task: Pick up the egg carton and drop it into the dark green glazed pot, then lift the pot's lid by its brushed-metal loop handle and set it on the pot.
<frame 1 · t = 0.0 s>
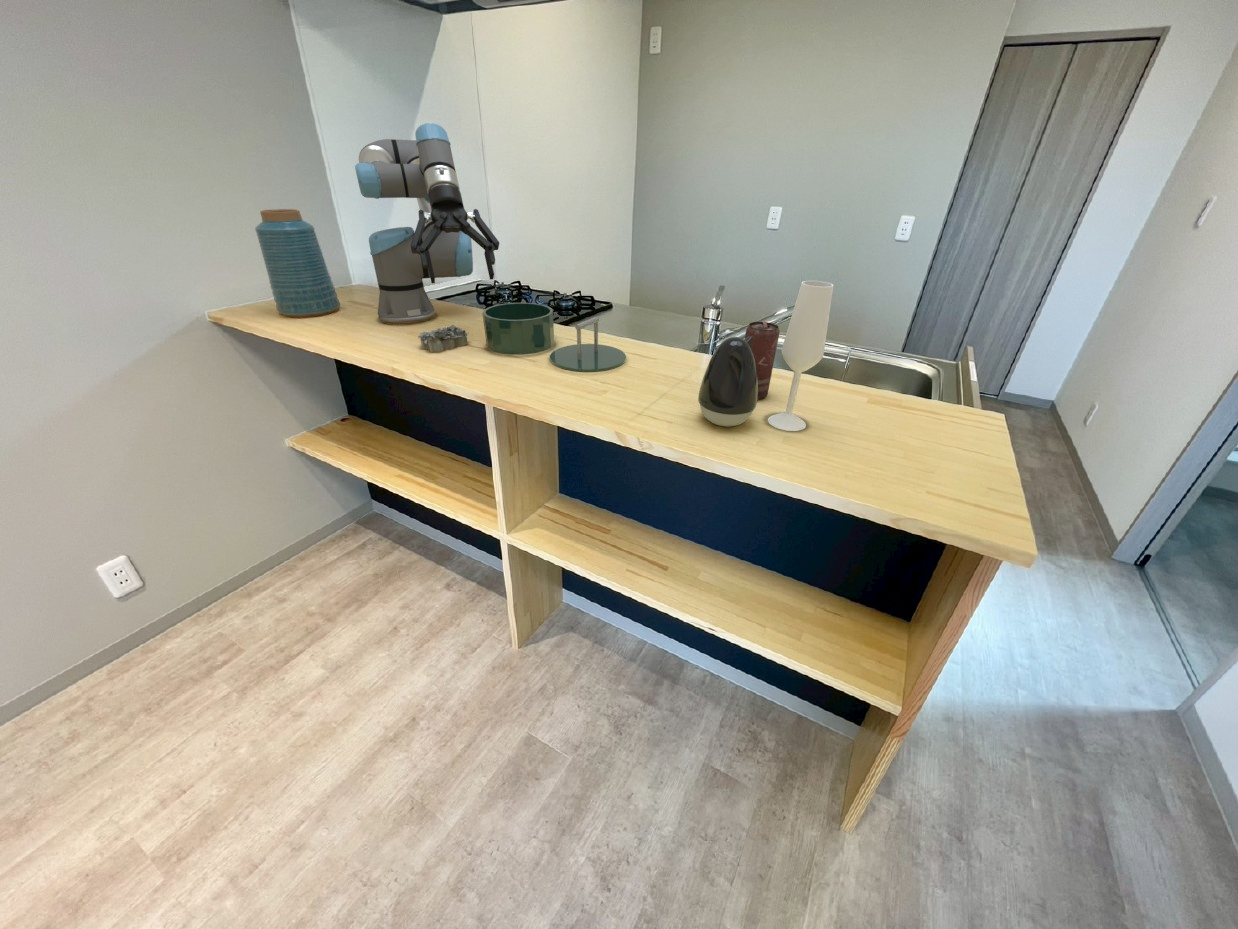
hand: (463, 278, 116), 15 cm above the worktop, tool tilted 35°, fingers open, 13 cm apart
pot: (521, 345, 123), on the worktop
vase: (310, 312, 146), on the worktop
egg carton: (445, 346, 122), on the worktop
champagne flute: (786, 423, 89), on the worktop
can: (751, 394, 99), on the worktop
dark grey egg shape: (724, 420, 89), on the worktop
lid: (588, 358, 114), point 1 cm above the worktop
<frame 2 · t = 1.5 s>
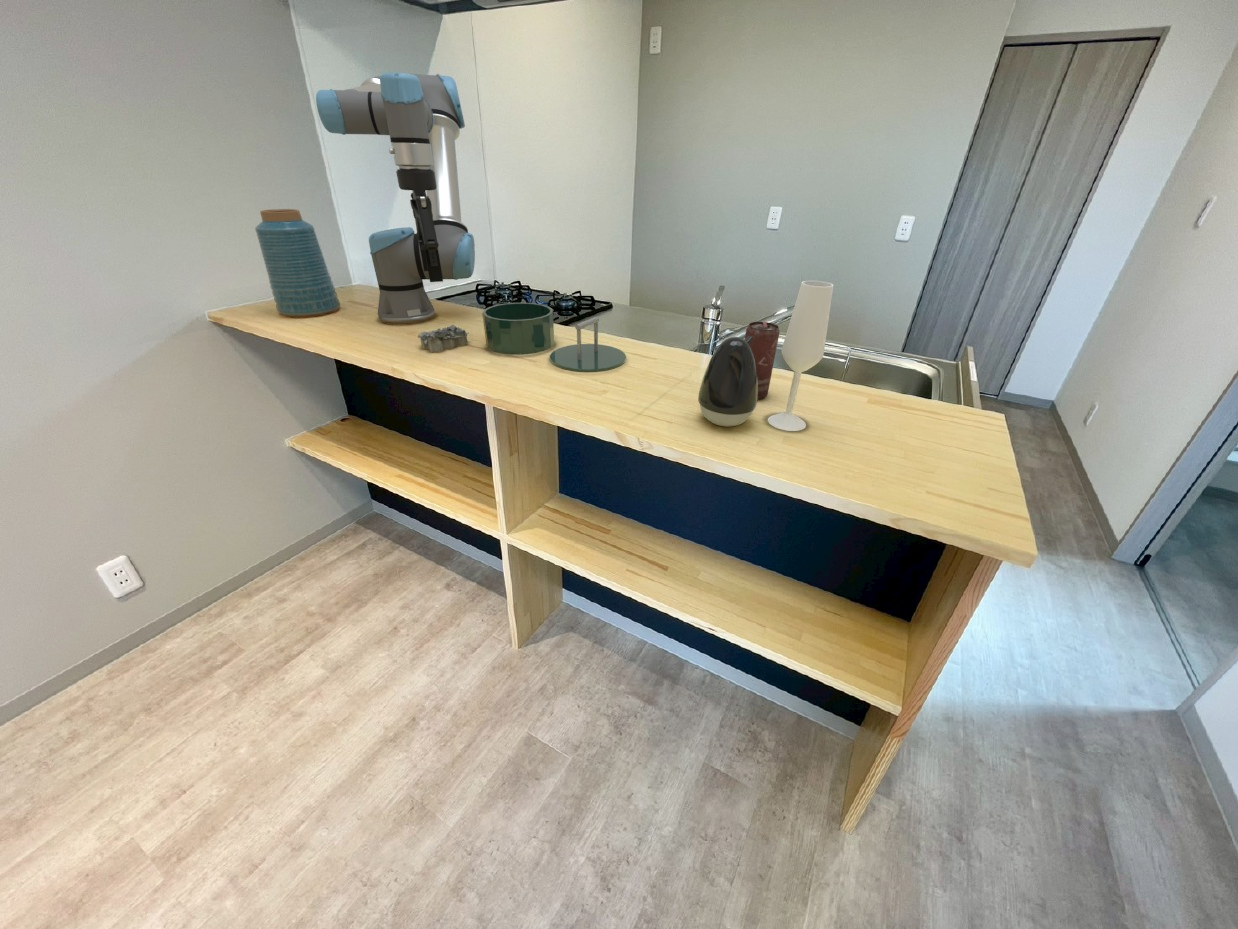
hand: (433, 276, 113), 16 cm above the worktop, tool pointing down, fingers open, 13 cm apart
nothing on the worktop moved.
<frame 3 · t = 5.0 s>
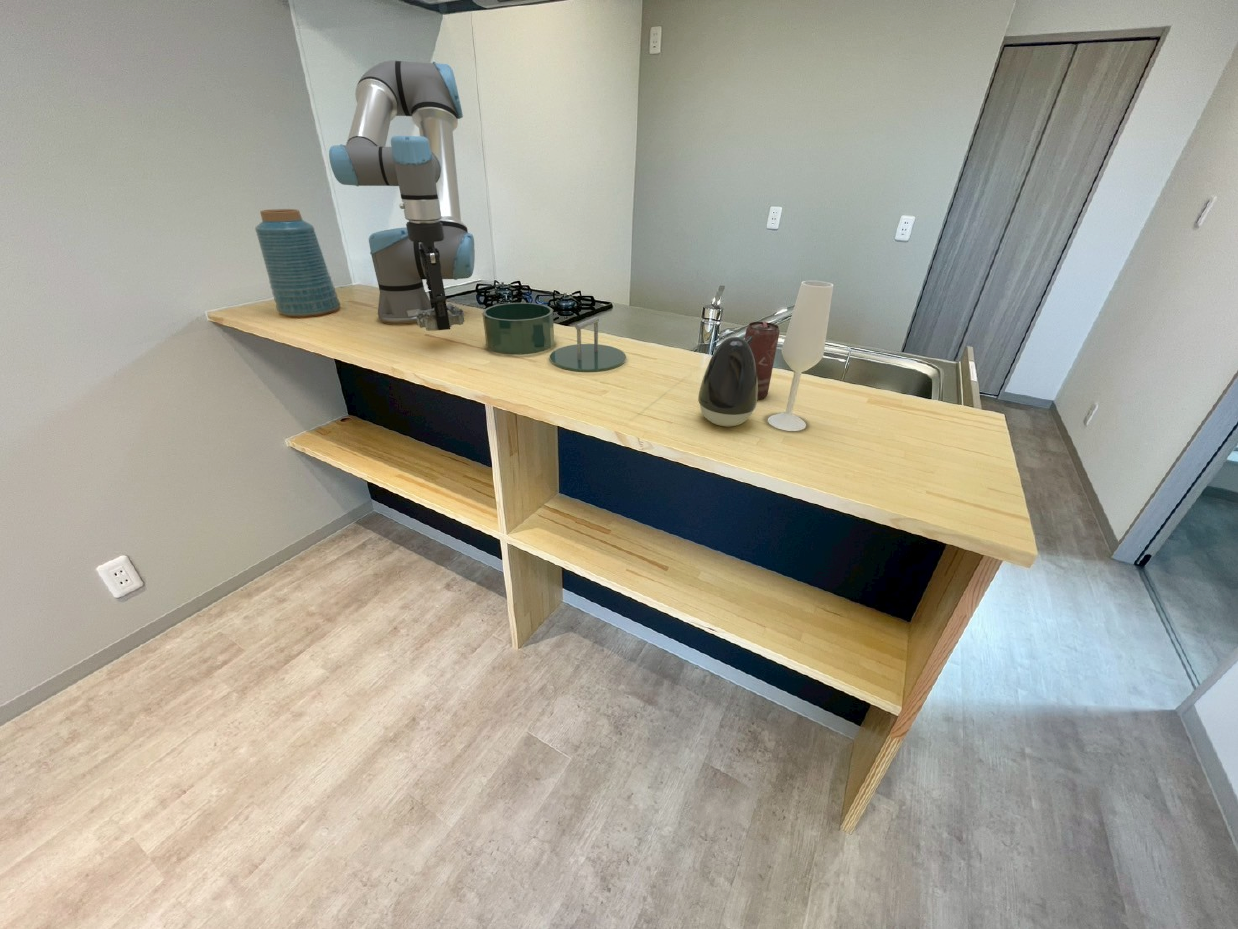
hand: (441, 323, 119), 5 cm above the worktop, tool pointing down, fingers closed on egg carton, 9 cm apart
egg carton: (441, 325, 119), point 5 cm above the worktop, touching gripper
everything else where it was.
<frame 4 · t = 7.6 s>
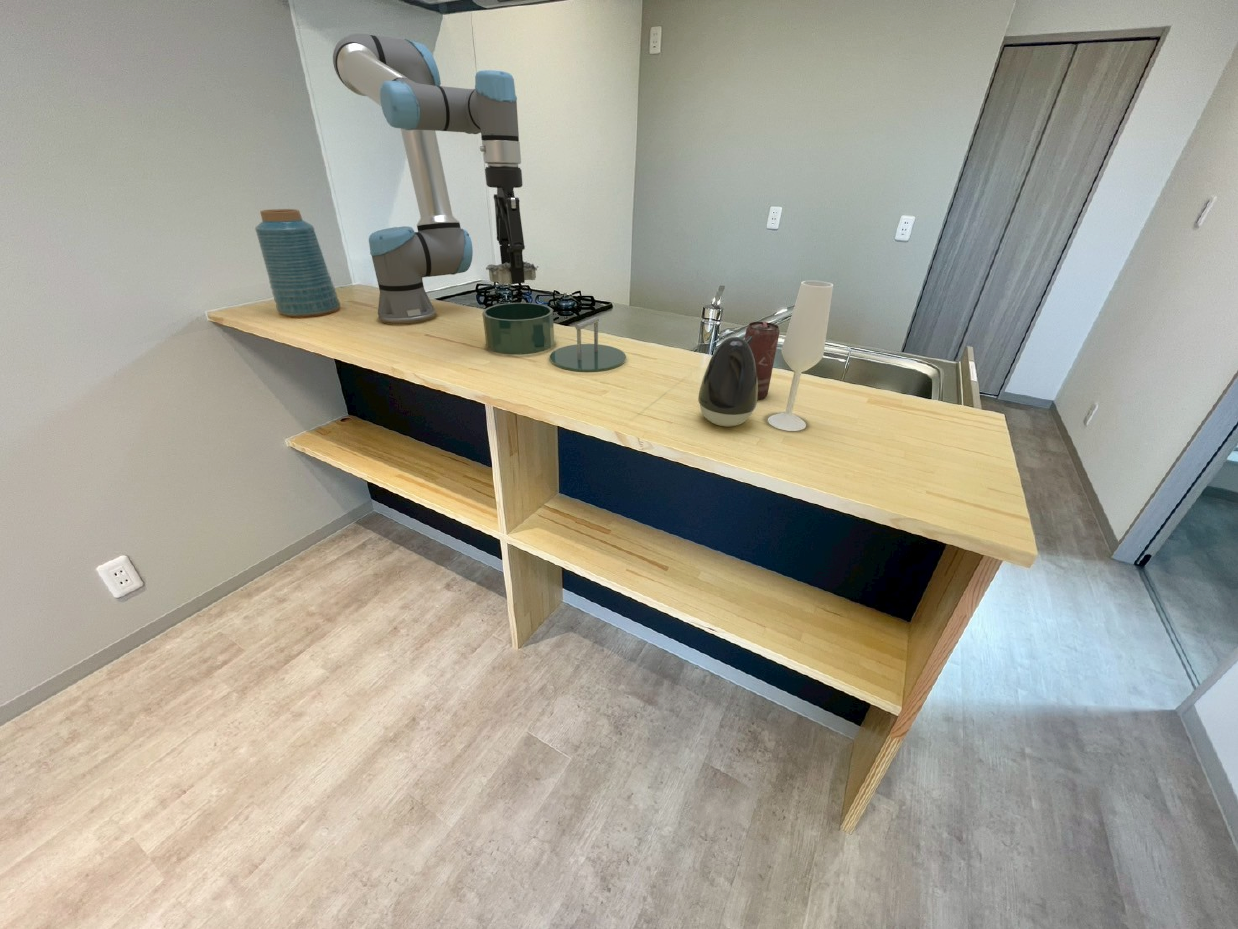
hand: (513, 278, 114), 16 cm above the worktop, tool pointing down, fingers closed on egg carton, 9 cm apart
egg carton: (513, 280, 114), point 16 cm above the worktop, touching gripper
everything else where it was.
when the fingers open (5 cm above the worktop, at t = 10.5 s): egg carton drops 4 cm, resting on pot.
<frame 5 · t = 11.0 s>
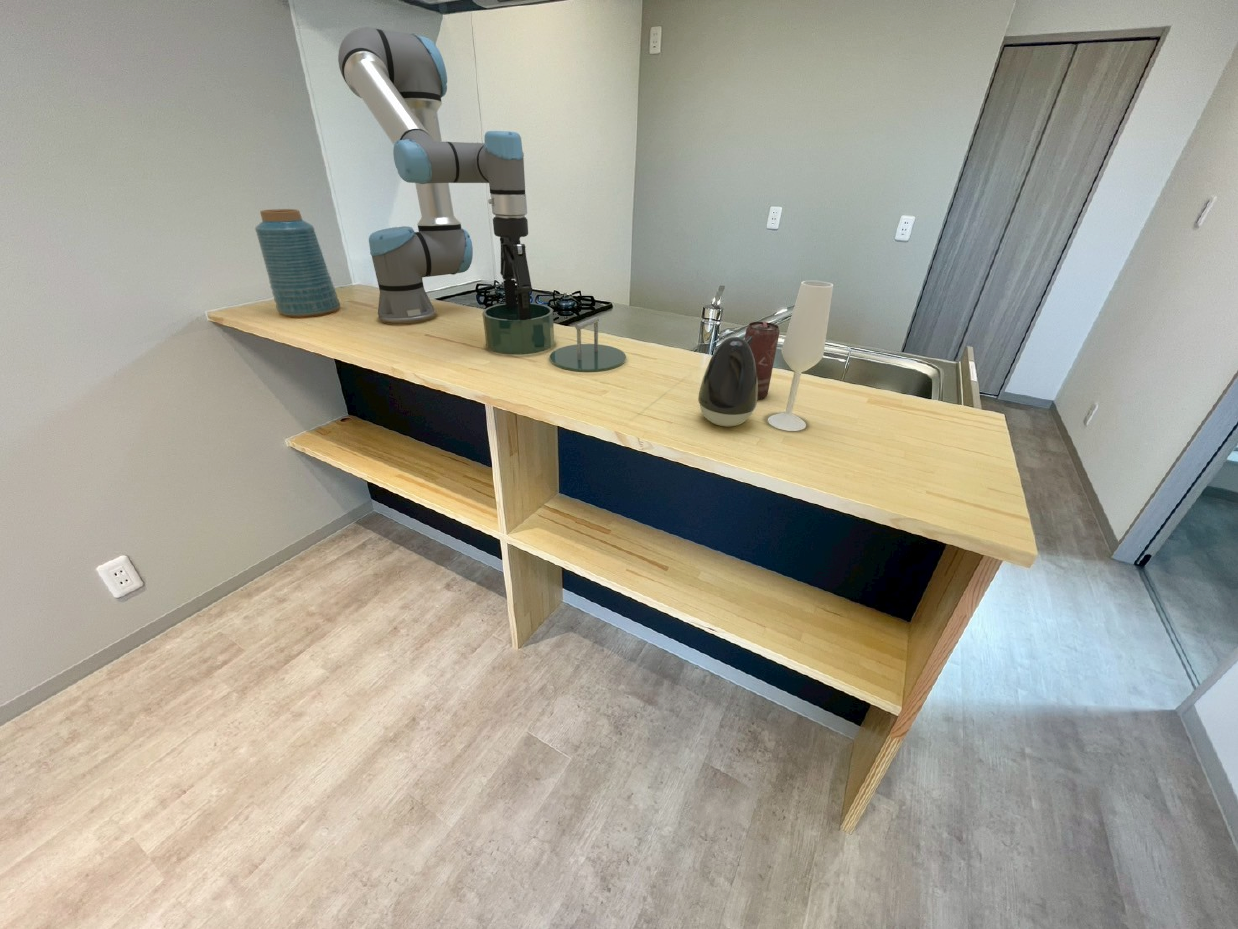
hand: (518, 314, 119), 8 cm above the worktop, tool pointing down, fingers open, 13 cm apart
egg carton: (519, 343, 123), resting on pot
everything else where it was.
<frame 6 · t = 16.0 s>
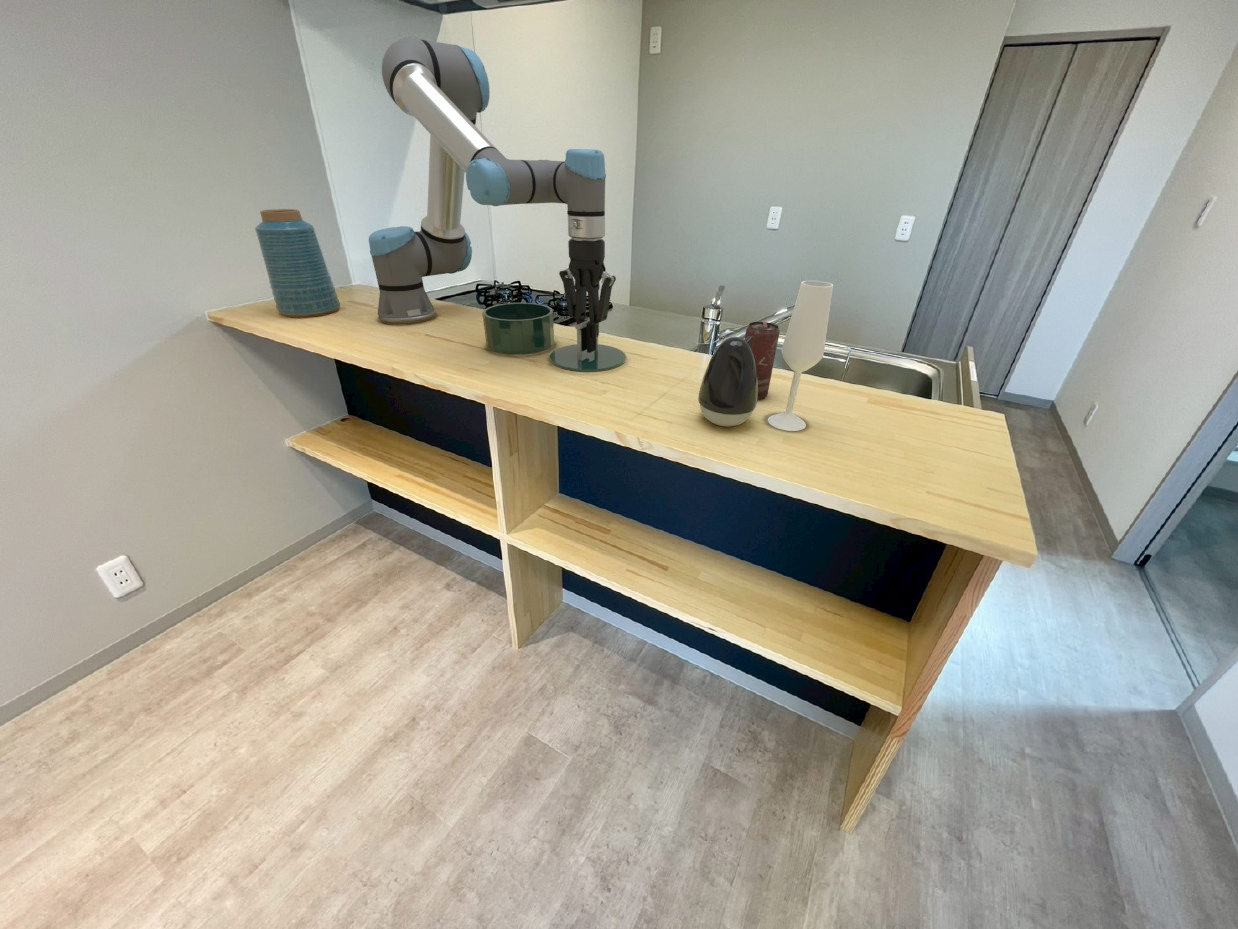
hand: (588, 350, 113), 3 cm above the worktop, tool pointing down, fingers closed on lid
lid: (588, 358, 114), point 1 cm above the worktop, touching gripper
everything else where it was.
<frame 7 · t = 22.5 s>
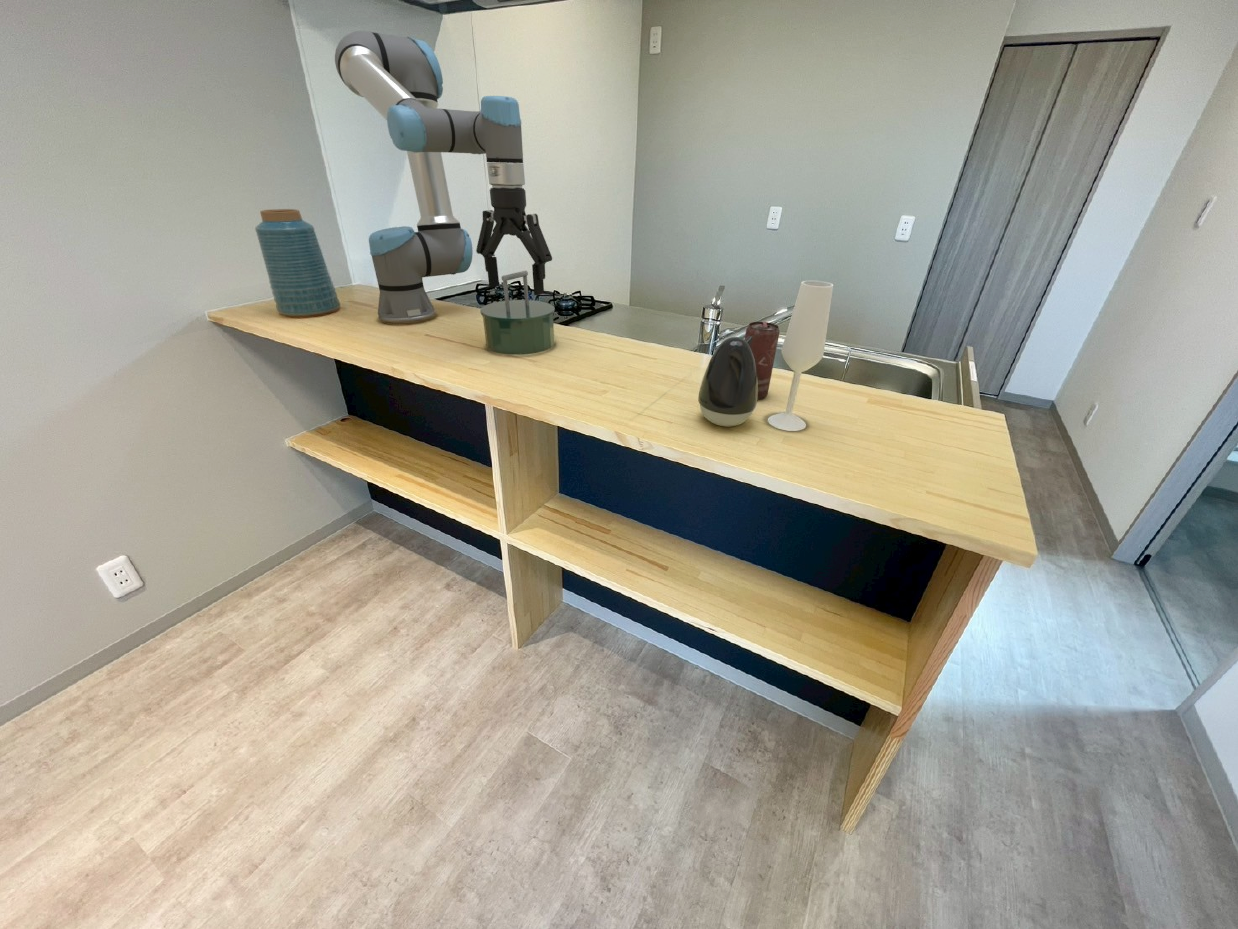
hand: (516, 290, 116), 13 cm above the worktop, tool pointing down, fingers open, 13 cm apart
lid: (518, 311, 118), point 8 cm above the worktop, touching pot
everything else where it was.
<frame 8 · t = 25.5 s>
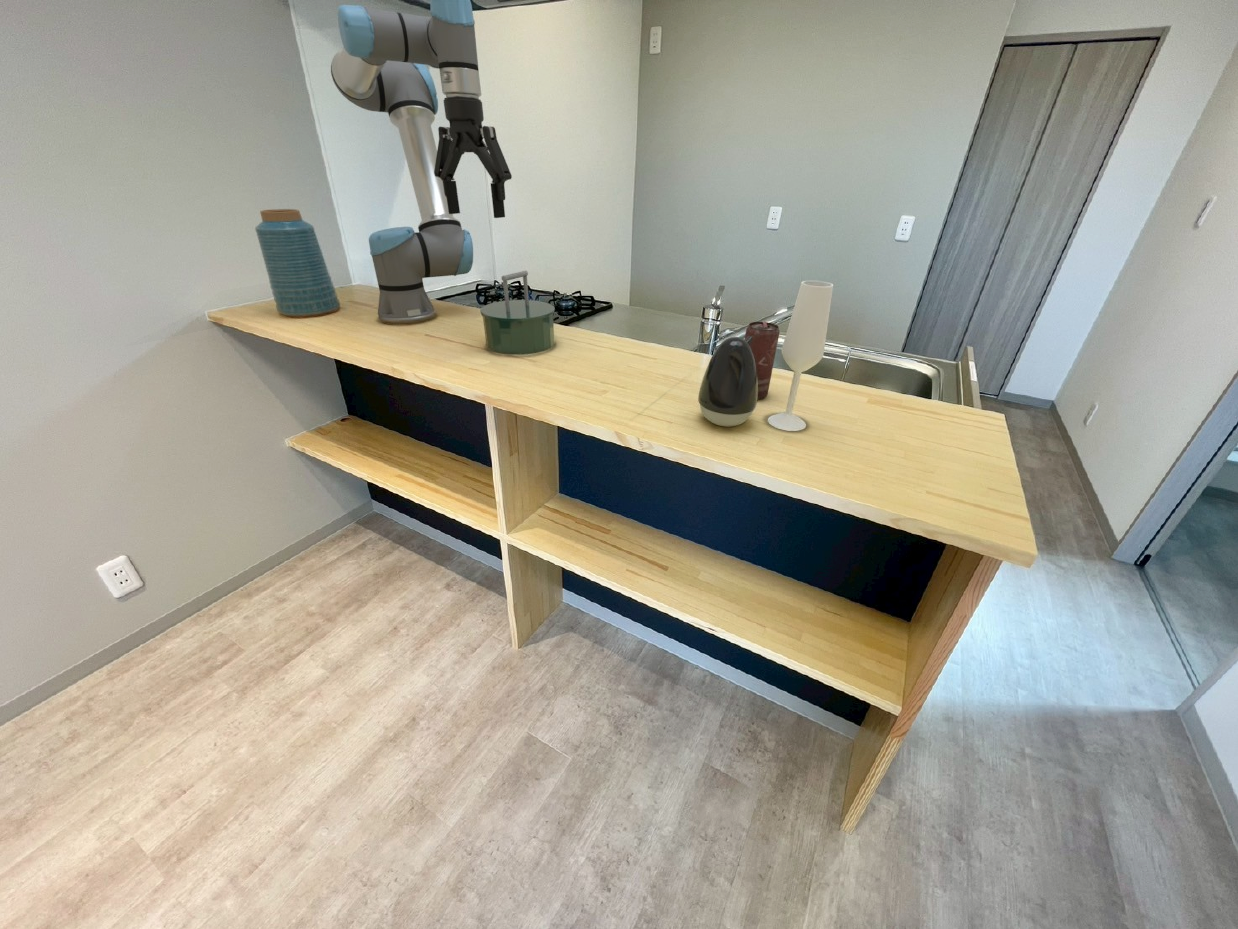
hand: (476, 215, 110), 29 cm above the worktop, tool pointing down, fingers open, 13 cm apart
nothing on the worktop moved.
at the end: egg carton inside the target area in the pot (0.7 cm from its centre), point 0.3 cm above the pot's base; lid 0.1 cm off-centre on the pot, point 8.5 cm above the pot's base; lid tilted 0° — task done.
